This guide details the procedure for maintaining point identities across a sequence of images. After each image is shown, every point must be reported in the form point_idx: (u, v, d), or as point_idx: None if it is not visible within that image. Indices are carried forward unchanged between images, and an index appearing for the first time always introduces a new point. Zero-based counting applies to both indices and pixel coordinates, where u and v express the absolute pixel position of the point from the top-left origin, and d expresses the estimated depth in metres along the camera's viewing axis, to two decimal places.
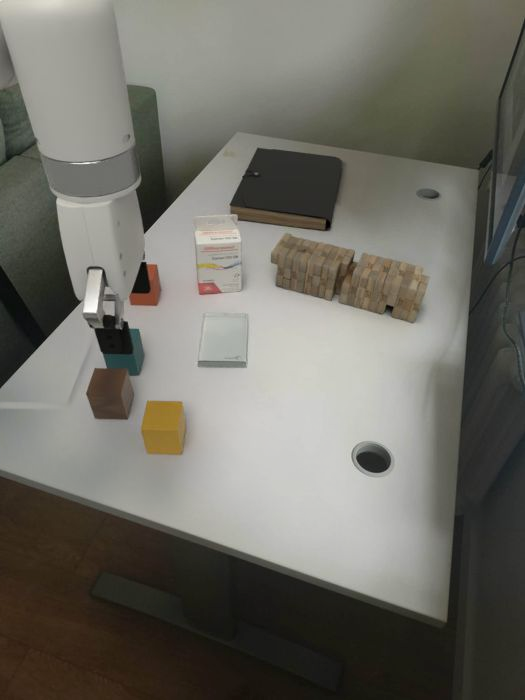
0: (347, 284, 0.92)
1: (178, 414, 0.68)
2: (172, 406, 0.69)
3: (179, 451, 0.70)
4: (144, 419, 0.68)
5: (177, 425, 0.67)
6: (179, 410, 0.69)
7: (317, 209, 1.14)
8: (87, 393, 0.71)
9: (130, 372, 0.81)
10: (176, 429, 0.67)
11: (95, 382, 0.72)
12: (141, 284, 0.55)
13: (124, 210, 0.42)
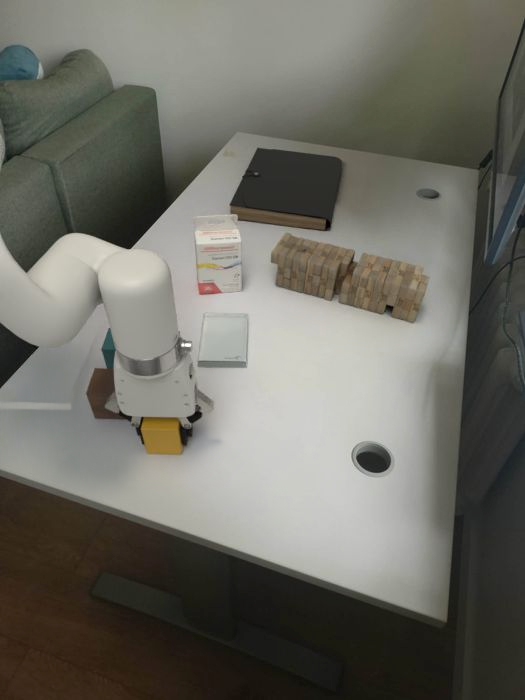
0: (347, 284, 0.92)
1: None
2: None
3: (179, 451, 0.70)
4: (144, 419, 0.68)
5: (177, 425, 0.67)
6: None
7: (317, 209, 1.14)
8: (87, 393, 0.71)
9: None
10: (176, 429, 0.67)
11: (95, 382, 0.72)
12: None
13: (135, 380, 0.60)
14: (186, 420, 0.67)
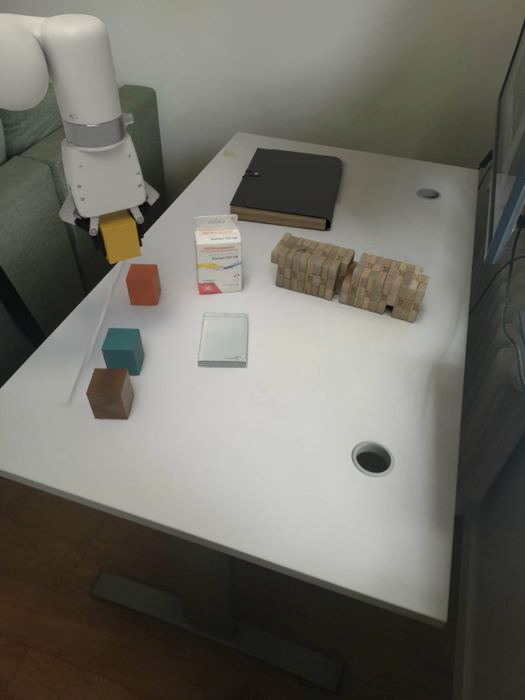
0: (347, 284, 0.92)
1: (128, 214, 0.75)
2: (118, 211, 0.75)
3: (139, 251, 0.77)
4: (100, 224, 0.72)
5: (132, 219, 0.74)
6: (126, 211, 0.75)
7: (317, 209, 1.14)
8: (87, 393, 0.71)
9: (130, 372, 0.81)
10: (134, 221, 0.73)
11: (95, 382, 0.72)
12: None
13: (93, 162, 0.65)
14: (139, 212, 0.74)
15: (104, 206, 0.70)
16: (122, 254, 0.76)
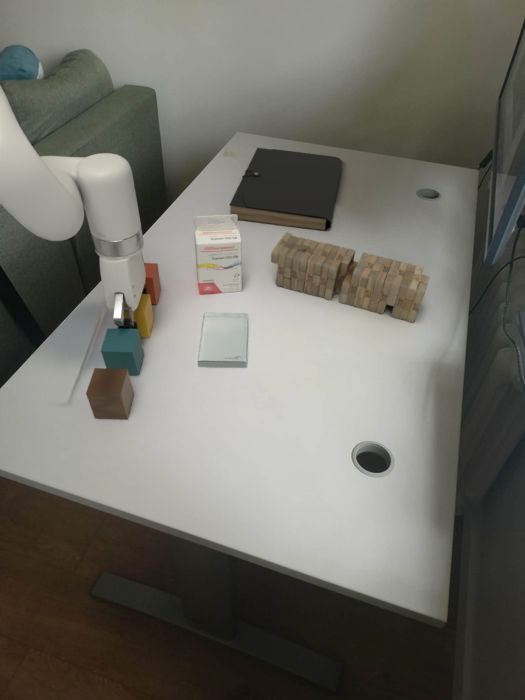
0: (347, 284, 0.92)
1: None
2: None
3: (153, 316, 0.91)
4: (135, 311, 0.84)
5: (145, 294, 0.87)
6: None
7: (317, 209, 1.14)
8: (87, 393, 0.71)
9: (130, 372, 0.81)
10: (148, 294, 0.87)
11: (95, 382, 0.72)
12: None
13: (134, 262, 0.77)
14: None
15: (140, 293, 0.82)
16: (150, 325, 0.88)
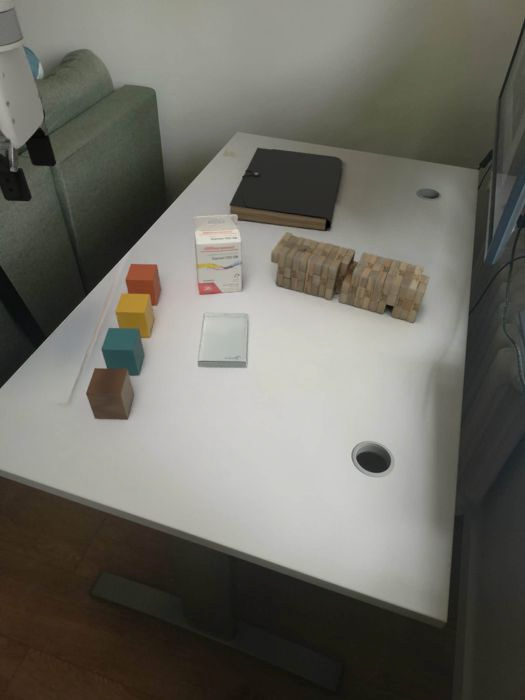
0: (347, 284, 0.92)
1: (135, 294, 0.87)
2: (125, 297, 0.86)
3: (153, 316, 0.91)
4: (135, 311, 0.84)
5: (145, 294, 0.87)
6: (130, 294, 0.87)
7: (317, 209, 1.14)
8: (87, 393, 0.71)
9: (130, 372, 0.81)
10: (148, 294, 0.87)
11: (95, 382, 0.72)
12: (46, 156, 0.67)
13: (10, 67, 0.53)
14: (42, 121, 0.64)
15: (27, 128, 0.58)
16: (150, 325, 0.88)
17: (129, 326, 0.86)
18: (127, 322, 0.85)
